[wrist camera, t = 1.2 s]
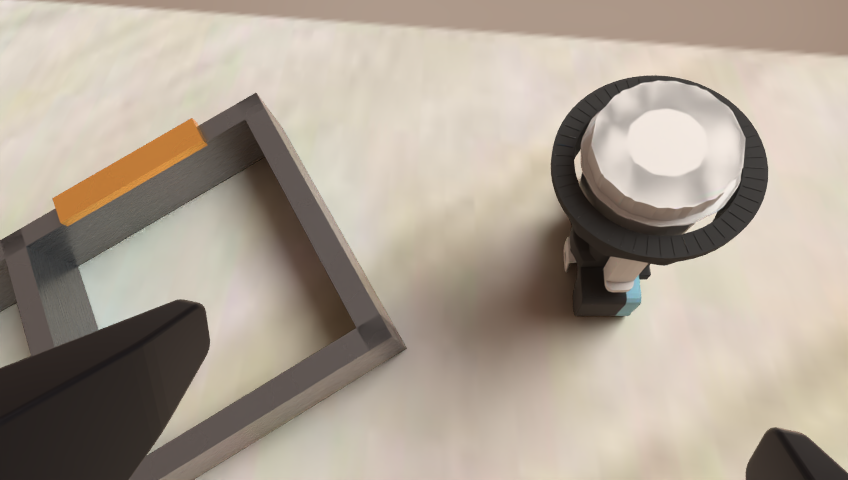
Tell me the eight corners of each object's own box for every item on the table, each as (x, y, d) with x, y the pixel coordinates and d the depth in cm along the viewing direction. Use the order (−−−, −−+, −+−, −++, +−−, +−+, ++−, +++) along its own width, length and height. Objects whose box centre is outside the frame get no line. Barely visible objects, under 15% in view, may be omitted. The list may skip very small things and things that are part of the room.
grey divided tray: (406, 348, 22) (390, 334, 19) (-135, 681, 21) (-250, 726, 18) (280, 124, 27) (250, 84, 24) (-167, 385, 26) (-261, 379, 23)
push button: (531, 178, 24) (547, 19, 15) (655, 173, 23) (755, 2, 14) (538, 325, 22) (561, 247, 12) (675, 325, 21) (809, 242, 12)
